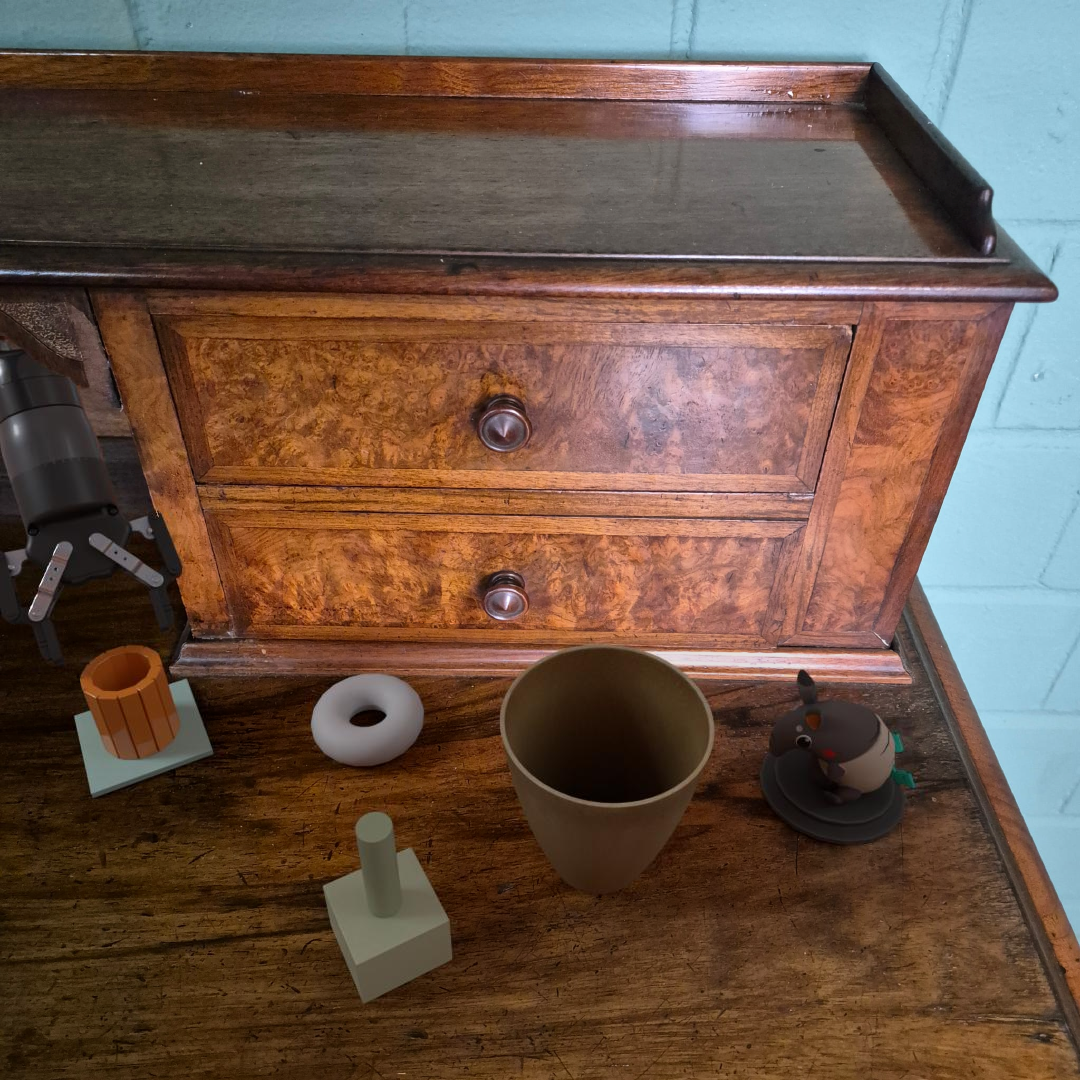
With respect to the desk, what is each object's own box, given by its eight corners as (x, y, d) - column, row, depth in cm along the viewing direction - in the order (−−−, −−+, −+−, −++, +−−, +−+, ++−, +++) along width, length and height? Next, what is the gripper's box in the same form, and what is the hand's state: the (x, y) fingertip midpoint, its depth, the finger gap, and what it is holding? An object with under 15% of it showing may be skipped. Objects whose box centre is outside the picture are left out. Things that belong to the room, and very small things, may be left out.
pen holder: (110, 770, 81) (86, 708, 77) (98, 721, 86) (75, 660, 81) (186, 742, 84) (168, 681, 79) (171, 696, 88) (152, 636, 84)
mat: (93, 798, 79) (91, 793, 79) (75, 720, 86) (74, 715, 86) (213, 754, 83) (212, 749, 83) (188, 682, 90) (186, 678, 90)
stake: (363, 1004, 66) (341, 890, 58) (330, 925, 70) (306, 809, 62) (452, 959, 68) (443, 844, 60) (415, 886, 73) (402, 770, 65)
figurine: (918, 851, 76) (957, 752, 69) (767, 842, 77) (792, 743, 70) (885, 743, 85) (917, 647, 78) (751, 736, 86) (771, 639, 79)
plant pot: (496, 788, 81) (493, 649, 71) (668, 775, 82) (687, 638, 72) (509, 952, 69) (507, 812, 59) (710, 935, 70) (739, 795, 61)
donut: (291, 734, 85) (361, 794, 80) (285, 707, 83) (356, 766, 78) (377, 677, 91) (448, 728, 86) (373, 650, 89) (446, 701, 84)
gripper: (-44, 479, 76) (15, 672, 74) (142, 437, 81) (200, 616, 80) (-26, 501, 82) (29, 679, 81) (145, 461, 88) (198, 626, 87)
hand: (114, 647), depth 81 cm, fingers open, 8 cm apart
